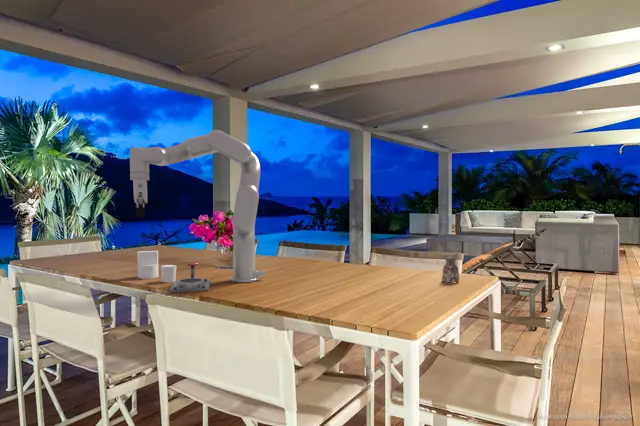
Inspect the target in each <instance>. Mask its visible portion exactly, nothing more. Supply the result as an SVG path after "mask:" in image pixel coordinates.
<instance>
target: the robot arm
mask: <svg viewBox="0 0 640 426" xmlns="http://www.w3.org/2000/svg"><path fill="white" fill-rule="evenodd" d="M216 153H219V154H221V155H224V156H225V157H228V159H231V160H233V162H235V163H236V164H238V165H239V167H240V176H239V177H240V178H239V183H238V184H239V185H238V190H237V192H236V195H235V203H234V208H233V210H234V211H233V215H232V216H233V217H232V232H233V233H232V234H233V235H232V237H233V238H232V243H233V244H232V251H233V252H232V254H233V260H232V261H233V265H232V266H233V276H230V278H229V281H230V282H233V283H251V282H256V281H258V280H259V276H261V277H263V276H266V271H263V270H260V271H259V270H256V233H255V230H256V228H255V226H256V220H257V218H256V217H257V213H258V207H259V206H258V205H259V199H260V195H259V188H260V181H261V180H260V179H261V164H260V161H259V159H258V157H257V156H256V154H255V153H254V152H253V151H252V150H251V147H250V146H249V145H248V144H247V143H244V142H243V141H241V140H239V139H237V138H235V137H233V136H231V135H229V134H228V133H226V132H225V131H222V130H220V129H213V130H211V131H210V132H209V133H207V134H204V135H203V134H202V135H200V136H199V135H198V136H195V137H191V138H187V139H184V141H183V142H181V143H179V144H176V145H172V146H169V147H165V148H164V147H163V148H162V147H160V146H153V147H152V146H151V147H141V146H138V147H137V146H135V147H131V148H130V150H129V171H130V174H129V176H130V178H129V179H130V181H132V182H133V183H132V185H133V187H132V188H133V200H134V203H135V217H136V218H145V217H146V213H145V212H146V211H145V210H146V209H145V204H147V203H148V182H147V181H150V165H154V166H155V165H156V166H158V167H159V166H160V167H164V166H168V165H173V164H176V163H181V162H184V161H188V160H192V159H196V158H199V157H204V156H207V155H212V154H216Z"/></svg>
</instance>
